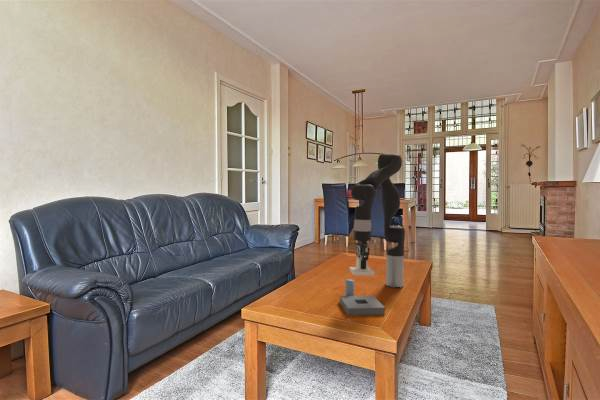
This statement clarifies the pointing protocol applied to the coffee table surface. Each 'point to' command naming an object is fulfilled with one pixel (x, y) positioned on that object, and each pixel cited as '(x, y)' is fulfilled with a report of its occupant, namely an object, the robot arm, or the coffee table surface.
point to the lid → (359, 271)
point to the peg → (349, 287)
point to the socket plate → (362, 305)
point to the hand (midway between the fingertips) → (361, 267)
